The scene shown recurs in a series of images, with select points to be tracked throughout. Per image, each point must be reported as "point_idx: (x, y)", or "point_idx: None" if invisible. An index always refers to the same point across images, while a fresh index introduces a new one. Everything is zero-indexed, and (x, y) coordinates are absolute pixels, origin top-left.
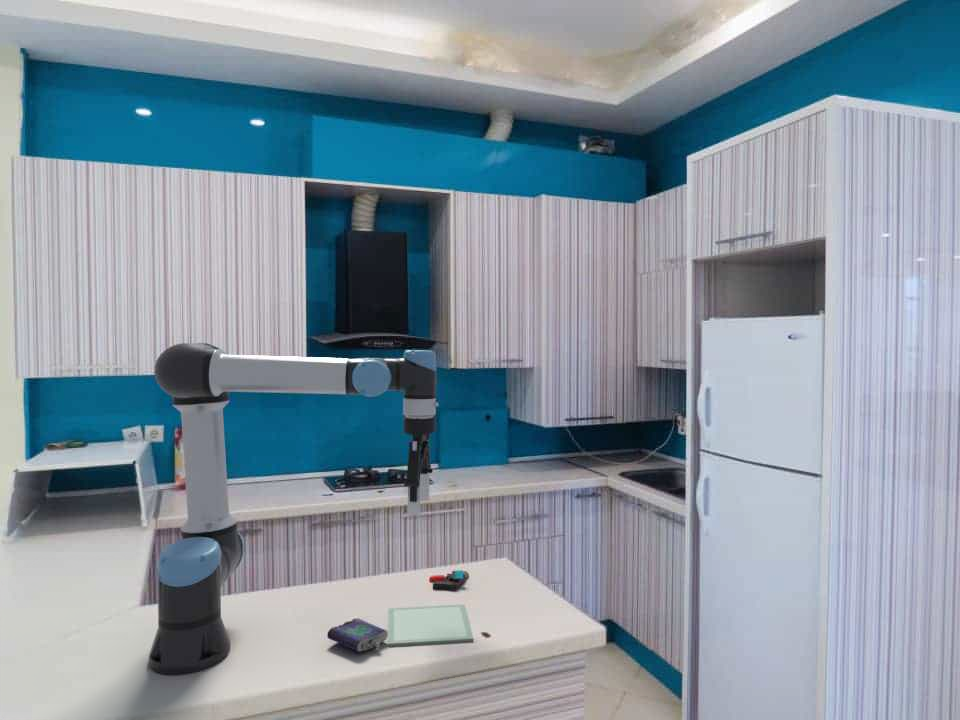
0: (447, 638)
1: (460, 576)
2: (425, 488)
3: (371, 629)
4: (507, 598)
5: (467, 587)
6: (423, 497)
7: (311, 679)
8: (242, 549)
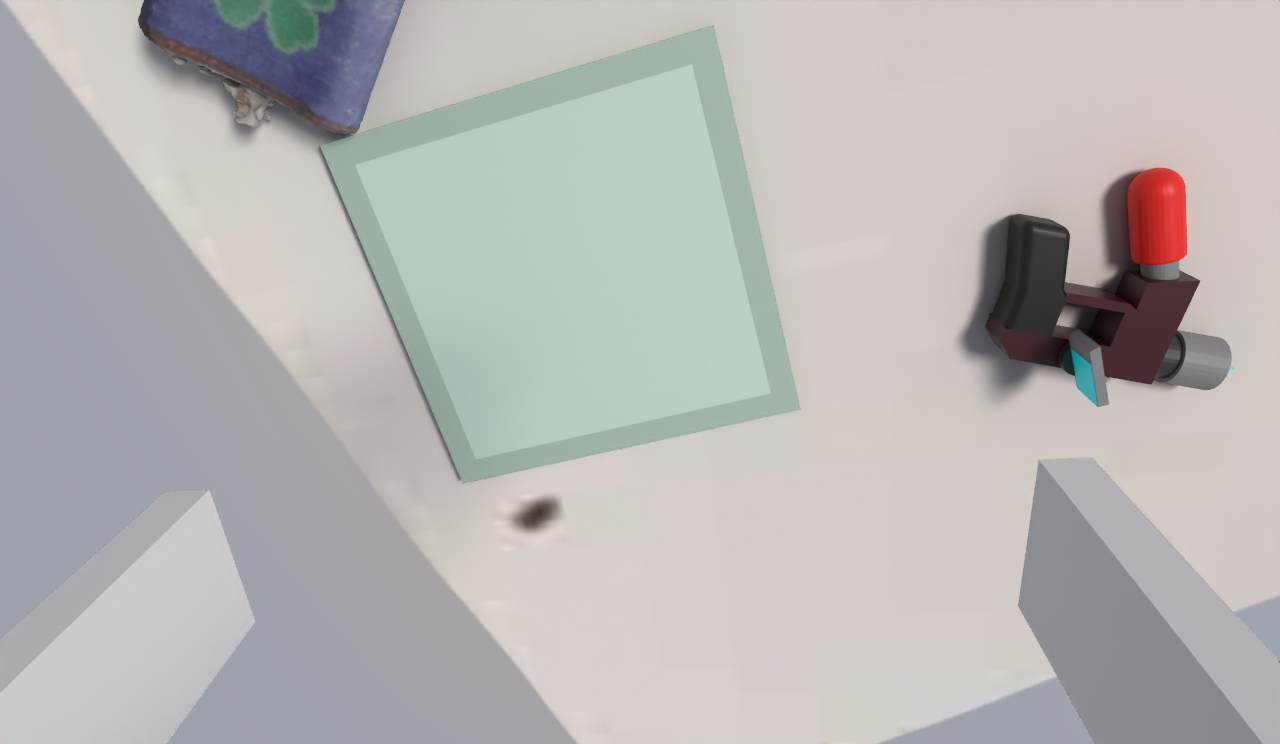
0: (439, 389)
1: (1079, 380)
2: (1120, 720)
3: (309, 50)
4: (908, 569)
5: (1057, 387)
6: (1052, 572)
7: None
8: None
